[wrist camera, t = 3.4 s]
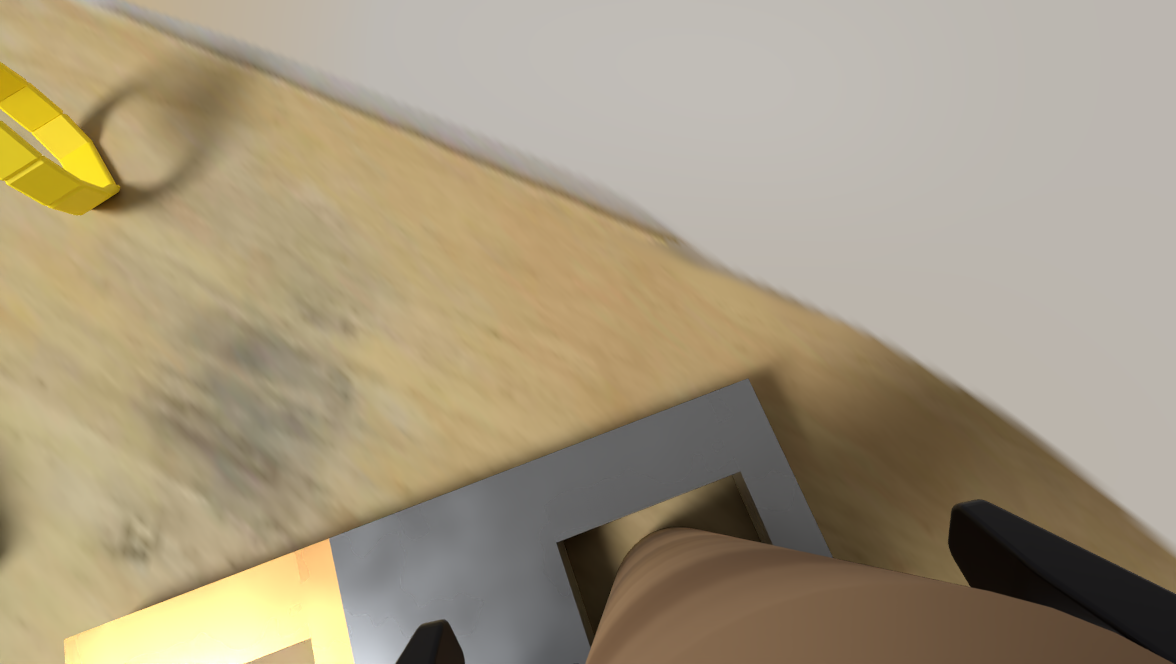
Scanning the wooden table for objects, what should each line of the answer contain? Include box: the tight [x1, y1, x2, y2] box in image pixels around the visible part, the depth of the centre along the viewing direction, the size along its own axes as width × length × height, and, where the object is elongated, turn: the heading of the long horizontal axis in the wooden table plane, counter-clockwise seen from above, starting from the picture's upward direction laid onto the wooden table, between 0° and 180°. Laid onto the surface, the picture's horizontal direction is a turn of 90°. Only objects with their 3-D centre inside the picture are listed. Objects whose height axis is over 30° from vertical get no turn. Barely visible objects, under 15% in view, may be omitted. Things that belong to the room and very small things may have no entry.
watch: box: [0, 62, 120, 215], centre depth 20 cm, size 6×3×6 cm, turn 38°
